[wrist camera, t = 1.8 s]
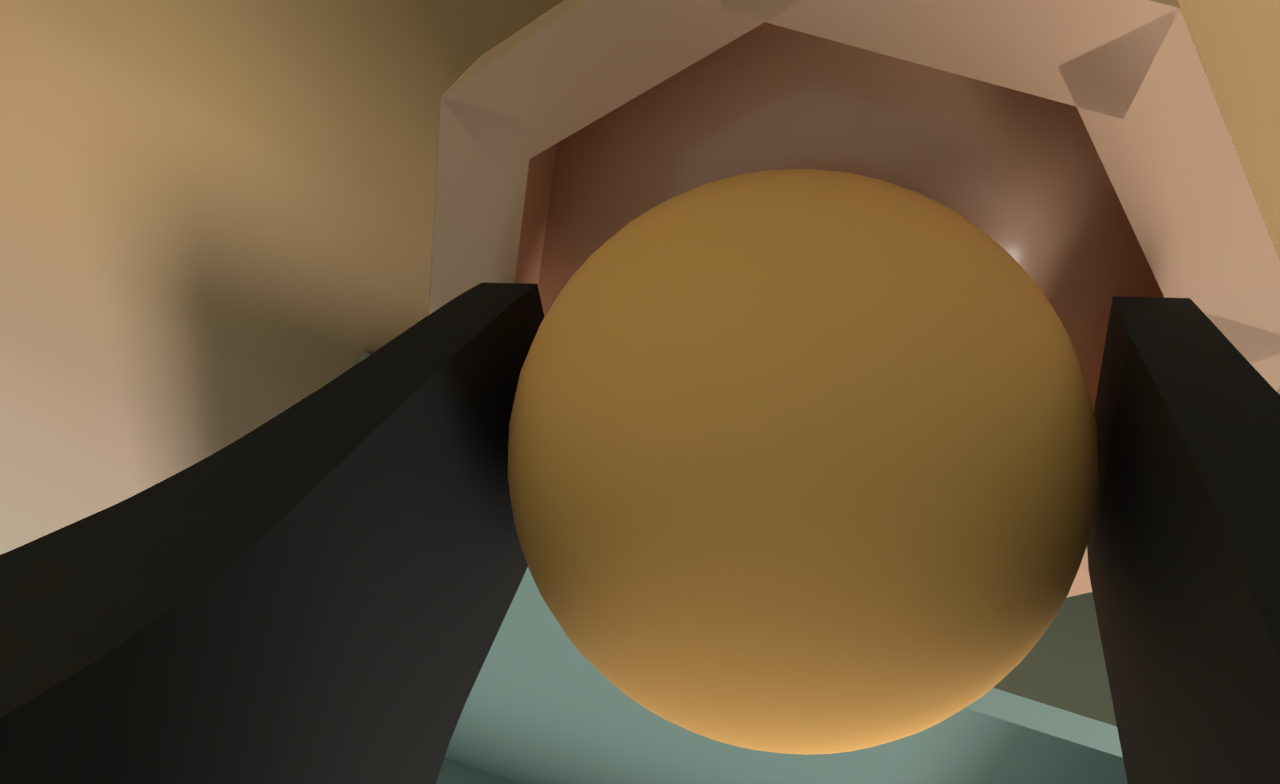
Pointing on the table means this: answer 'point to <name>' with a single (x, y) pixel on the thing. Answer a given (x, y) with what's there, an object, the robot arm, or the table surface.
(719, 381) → the ball
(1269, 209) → the table surface
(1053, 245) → the pot
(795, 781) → the tray
